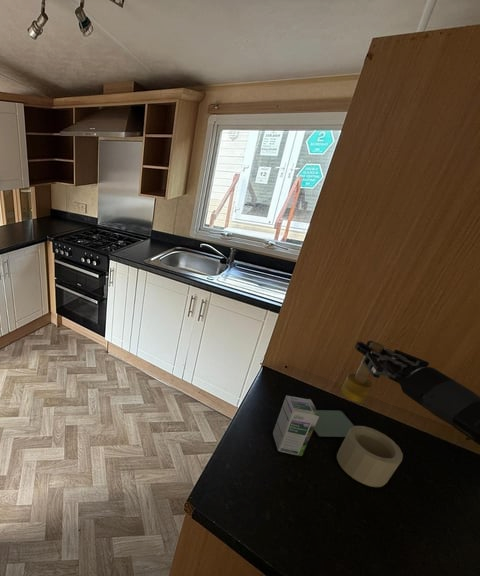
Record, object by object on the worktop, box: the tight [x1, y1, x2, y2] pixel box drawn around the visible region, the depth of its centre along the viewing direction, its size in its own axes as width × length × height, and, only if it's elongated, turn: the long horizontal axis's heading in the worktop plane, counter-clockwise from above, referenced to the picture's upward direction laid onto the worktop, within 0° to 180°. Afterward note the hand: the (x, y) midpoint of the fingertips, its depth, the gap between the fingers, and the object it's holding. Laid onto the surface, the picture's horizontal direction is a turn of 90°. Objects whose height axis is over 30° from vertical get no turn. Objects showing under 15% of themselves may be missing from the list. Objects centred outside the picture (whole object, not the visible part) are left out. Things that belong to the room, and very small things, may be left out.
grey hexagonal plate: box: [313, 409, 355, 438], centre depth 88 cm, size 12×9×1 cm
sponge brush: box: [340, 341, 385, 403], centre depth 77 cm, size 5×5×16 cm
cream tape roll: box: [336, 425, 404, 488], centre depth 75 cm, size 10×10×9 cm
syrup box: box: [272, 394, 319, 457], centre depth 79 cm, size 6×6×14 cm
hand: (362, 344), depth 77 cm, fingers closed on sponge brush, 2 cm apart
